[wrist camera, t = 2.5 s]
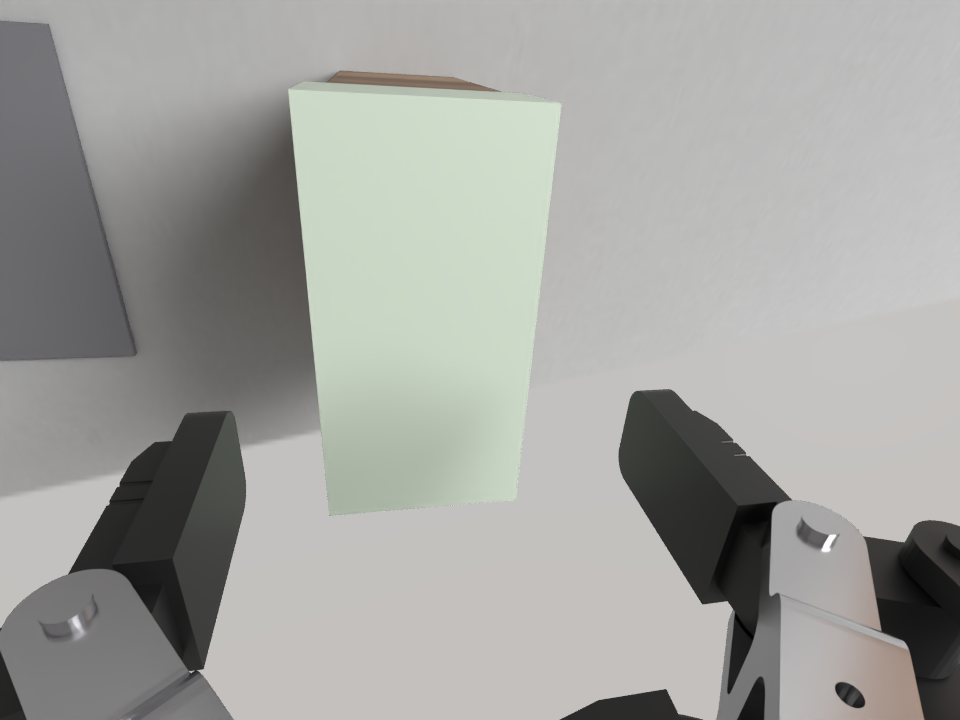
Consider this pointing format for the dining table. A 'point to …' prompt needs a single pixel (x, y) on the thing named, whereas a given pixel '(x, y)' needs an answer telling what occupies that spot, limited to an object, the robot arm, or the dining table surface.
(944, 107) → the dining table surface
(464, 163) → the pale green block
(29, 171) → the mat
